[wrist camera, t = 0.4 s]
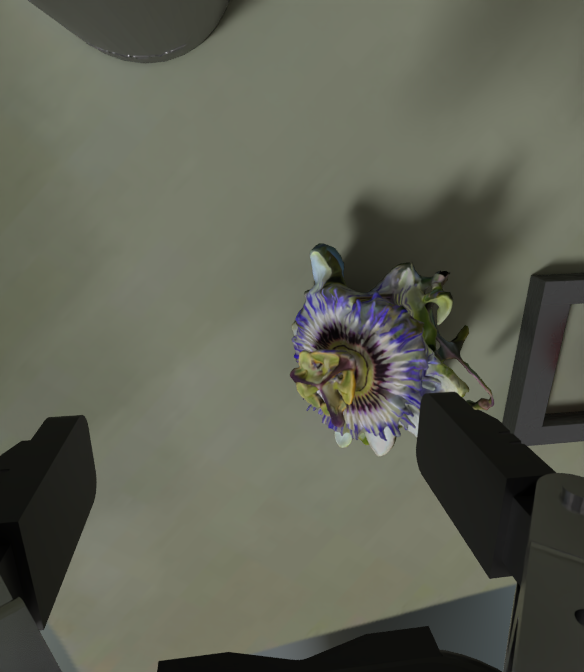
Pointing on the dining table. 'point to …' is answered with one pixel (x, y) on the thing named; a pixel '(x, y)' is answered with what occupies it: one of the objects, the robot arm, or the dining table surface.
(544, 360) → the grey yellow flat frame
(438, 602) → the dining table surface
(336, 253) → the passion flower
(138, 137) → the dining table surface
